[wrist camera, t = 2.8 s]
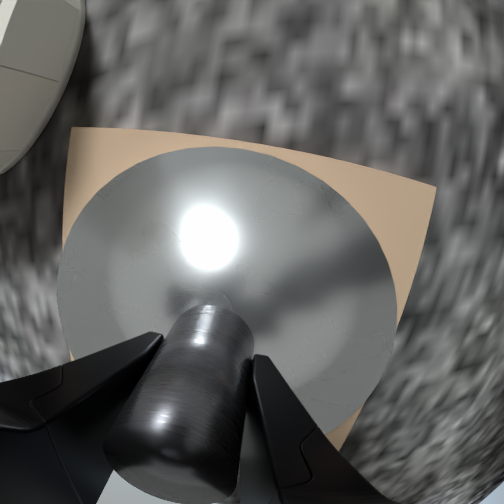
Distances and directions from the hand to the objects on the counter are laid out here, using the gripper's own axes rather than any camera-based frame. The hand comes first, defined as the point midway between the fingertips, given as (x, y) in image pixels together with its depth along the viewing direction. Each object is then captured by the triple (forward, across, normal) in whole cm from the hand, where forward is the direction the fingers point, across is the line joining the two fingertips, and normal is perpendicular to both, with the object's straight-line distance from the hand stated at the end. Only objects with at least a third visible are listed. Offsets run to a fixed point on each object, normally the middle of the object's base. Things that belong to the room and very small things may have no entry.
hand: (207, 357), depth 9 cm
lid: (+2, 0, 0) cm, 2 cm away
